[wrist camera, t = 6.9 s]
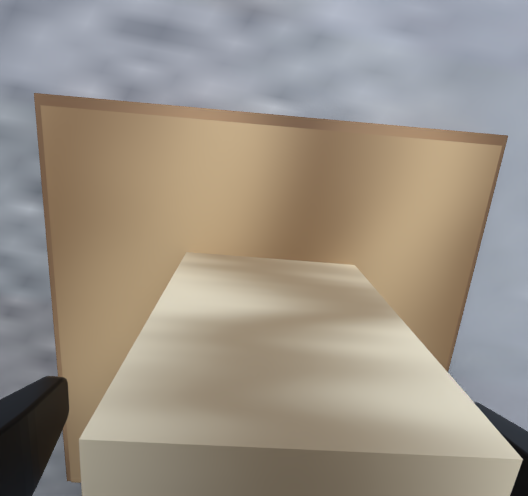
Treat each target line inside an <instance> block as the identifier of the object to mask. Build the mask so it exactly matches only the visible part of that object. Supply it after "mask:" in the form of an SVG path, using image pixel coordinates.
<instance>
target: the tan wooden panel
mask: <svg viewBox="0 0 528 496" xmlns="http://www.w3.org/2000/svg"><path fill="white" fill-rule="evenodd" d="M34 100H35V111H36V123H37V135H38V146H39V158H40V170H41V181H42V193H43V205H44V217H45V228H46V240H47V252H48V263H49V275H50V287H51V299H52V310H53V322H54V334H55V345H56V357H57V369H58V377H64V378H66V379H67V381H68V393H69V414H68V418H67V421H66V423H65V425H64V427H63V439H64V451H65V462H66V474H67V481H71V482H79V483H81V469H80V451H79V438H80V437H81V435H82V433H83V431H84V430H85V428H86V426H87V424H88V423H89V421H90V419H91V417H92V416H93V414H94V412H95V410H96V409H97V407H98V405H99V404H100V402H101V400H102V398H103V397H104V395H105V393H106V391H107V390H108V388H109V386H110V384H111V383H112V381H113V379H114V377H115V376H116V374H117V372H118V370H119V369H120V367H121V365H122V363H123V362H124V360H125V358H126V357H127V355H128V353H129V351H130V350H131V348H132V346H133V344H134V343H135V341H136V339H137V337H138V336H139V334H140V332H141V330H142V329H143V327H144V325H145V323H146V322H147V320H148V318H149V317H150V315H151V313H152V311H153V310H154V308H155V306H156V304H157V303H158V301H159V299H160V297H161V296H162V294H163V292H164V290H165V289H166V287H167V285H168V283H169V282H170V280H171V278H172V276H173V275H174V273H175V271H176V270H177V268H178V266H179V264H180V263H181V261H182V259H183V257H184V256H185V254H186V252H193V253H206V254H219V255H232V256H245V257H257V258H270V259H283V260H296V261H309V262H321V263H334V264H347V265H355V266H356V267H357V268H358V269H359V270H360V272H361V273H362V274H363V275H364V276H365V277H366V279H367V280H368V281H369V282H370V283H371V284H372V285H373V287H374V288H375V289H376V290H377V291H378V292H379V294H380V295H381V296H382V297H383V298H384V299H385V301H386V302H387V303H388V304H389V305H390V306H391V307H392V309H393V310H394V311H395V312H396V313H397V314H398V316H399V317H400V318H401V319H402V320H403V321H404V322H405V324H406V325H407V326H408V327H409V328H410V329H411V331H412V332H413V333H414V334H415V335H416V336H417V338H418V339H419V340H420V341H421V342H422V343H423V344H424V346H425V347H426V348H427V349H428V350H429V351H430V353H431V354H432V355H433V356H434V357H435V358H436V359H437V361H438V362H439V363H440V364H441V365H442V366H443V368H444V369H445V370H446V371H447V372H448V370H449V366H450V362H451V358H452V354H453V350H454V346H455V342H456V338H457V335H458V331H459V327H460V323H461V319H462V315H463V311H464V307H465V303H466V299H467V295H468V291H469V287H470V283H471V280H472V276H473V272H474V268H475V264H476V260H477V256H478V252H479V248H480V244H481V240H482V236H483V232H484V228H485V225H486V221H487V217H488V213H489V209H490V205H491V201H492V197H493V193H494V189H495V185H496V181H497V177H498V173H499V169H500V166H501V162H502V158H503V154H504V150H505V146H506V142H507V138H508V136H506V135H495V134H484V133H473V132H462V131H451V130H440V129H428V128H417V127H406V126H395V125H384V124H373V123H362V122H351V121H339V120H328V119H317V118H306V117H295V116H284V115H273V114H261V113H250V112H239V111H228V110H217V109H206V108H195V107H184V106H172V105H161V104H150V103H139V102H128V101H117V100H106V99H94V98H83V97H72V96H61V95H50V94H39V93H34Z"/></svg>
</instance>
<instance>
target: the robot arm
mask: <svg viewBox="0 0 528 496" xmlns="http://www.w3.org/2000/svg"><path fill="white" fill-rule="evenodd" d="M474 403H475V405H476V406H477V407H478V408H479V409H480V410H481V411H482V413H483V414H484V415H485V416H486V417H487V418H488V420H489V421H490V422H491V423H492V424H493V425H494V427H495V428H496V429H497V430H498V431H499V432H500V433H501V435H502V436H503V437H504V438H505V439H506V440H507V442H508V443H509V444H510V445H511V446H512V447H513V448H514V450H515V451H516V452H517V453H518V454H519V455H520V457H521V458H522V459H523V461H522V464H521V466H520V469H519V472H518V475H517V478H516V480H515V483H514V486H513V489H512V491H511V494H510V496H528V432H527V431H526V430H524V429H522V428H521V427H519V426H517V425H515V424H514V423H512V422H510V421H509V420H507V419H505V418H503V417H502V416H500V415H498V414H497V413H495V412H493V411H492V410H490V409H488V408H486V407H485V406H483V405H481V404H479V403H477V402H474ZM68 414H69V393H68V381H67V379H66V378H64V377H55V376H46V377H44V378H42V379H40V380H38V381H36V382H34V383H32V384H30V385H28V386H26V387H24V388H22V389H20V390H18V391H16V392H14V393H12V394H10V395H8V396H6V397H5V398H3V399H1V400H0V496H32V495H33V493H34V491H35V489H36V487H37V485H38V483H39V481H40V478H41V476H42V474H43V472H44V470H45V467H46V465H47V463H48V461H49V459H50V456H51V454H52V452H53V450H54V447H55V445H56V443H57V441H58V439H59V436H60V434H61V432H62V430H63V427H64V425H65V423H66V421H67V418H68Z"/></svg>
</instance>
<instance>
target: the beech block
mask: <svg viewBox="0 0 528 496" xmlns="http://www.w3.org/2000/svg"><path fill="white" fill-rule="evenodd" d="M79 451H80V469H81V488H82V496H510V494H511V491H512V489H513V486H514V483H515V480H516V478H517V475H518V472H519V469H520V466H521V464H522V461H523V459H522V458H521V457H520V455H519V454H518V453H517V452H516V451H515V450H514V448H513V447H512V446H511V445H510V444H509V443H508V442H507V440H506V439H505V438H504V437H503V436H502V435H501V433H500V432H499V431H498V430H497V429H496V428H495V427H494V425H493V424H492V423H491V422H490V421H489V420H488V418H487V417H486V416H485V415H484V414H483V413H482V411H481V410H480V409H479V408H478V407H477V406H476V405H475V403H474V402H473V401H472V400H471V399H470V398H469V396H468V395H467V394H466V393H465V392H464V391H463V390H462V388H461V387H460V386H459V385H458V384H457V383H456V381H455V380H454V379H453V378H452V377H451V376H450V374H449V373H448V372H447V371H446V370H445V369H444V368H443V366H442V365H441V364H440V363H439V362H438V361H437V359H436V358H435V357H434V356H433V355H432V354H431V353H430V351H429V350H428V349H427V348H426V347H425V346H424V344H423V343H422V342H421V341H420V340H419V339H418V338H417V336H416V335H415V334H414V333H413V332H412V331H411V329H410V328H409V327H408V326H407V325H406V324H405V322H404V321H403V320H402V319H401V318H400V317H399V316H398V314H397V313H396V312H395V311H394V310H393V309H392V307H391V306H390V305H389V304H388V303H387V302H386V301H385V299H384V298H383V297H382V296H381V295H380V294H379V292H378V291H377V290H376V289H375V288H374V287H373V285H372V284H371V283H370V282H369V281H368V280H367V279H366V277H365V276H364V275H363V274H362V273H361V272H360V270H359V269H358V268H357V267H356V266H355V265H347V264H334V263H321V262H309V261H296V260H283V259H270V258H257V257H245V256H232V255H219V254H206V253H193V252H186V254H185V256H184V257H183V259H182V261H181V263H180V264H179V266H178V268H177V270H176V271H175V273H174V275H173V276H172V278H171V280H170V282H169V283H168V285H167V287H166V289H165V290H164V292H163V294H162V296H161V297H160V299H159V301H158V303H157V304H156V306H155V308H154V310H153V311H152V313H151V315H150V317H149V318H148V320H147V322H146V323H145V325H144V327H143V329H142V330H141V332H140V334H139V336H138V337H137V339H136V341H135V343H134V344H133V346H132V348H131V350H130V351H129V353H128V355H127V357H126V358H125V360H124V362H123V363H122V365H121V367H120V369H119V370H118V372H117V374H116V376H115V377H114V379H113V381H112V383H111V384H110V386H109V388H108V390H107V391H106V393H105V395H104V397H103V398H102V400H101V402H100V404H99V405H98V407H97V409H96V410H95V412H94V414H93V416H92V417H91V419H90V421H89V423H88V424H87V426H86V428H85V430H84V431H83V433H82V435H81V437H80V438H79Z"/></svg>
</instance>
